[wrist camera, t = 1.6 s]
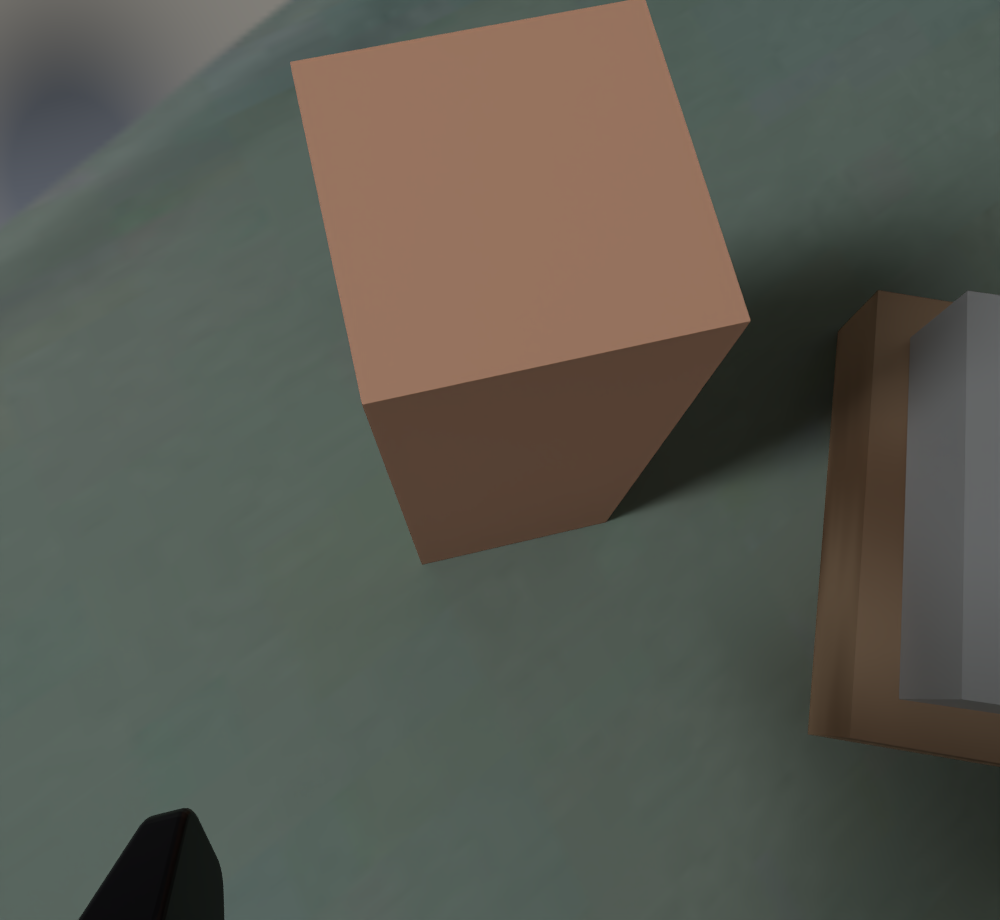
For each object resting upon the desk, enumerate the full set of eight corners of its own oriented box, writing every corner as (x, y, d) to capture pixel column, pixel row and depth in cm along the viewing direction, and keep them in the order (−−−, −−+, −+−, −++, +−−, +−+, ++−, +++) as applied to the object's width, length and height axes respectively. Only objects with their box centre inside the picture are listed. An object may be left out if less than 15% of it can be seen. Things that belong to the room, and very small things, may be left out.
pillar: (605, 521, 22) (750, 321, 11) (422, 564, 22) (362, 404, 10) (559, 350, 23) (644, -2, 12) (383, 388, 23) (289, 61, 11)
